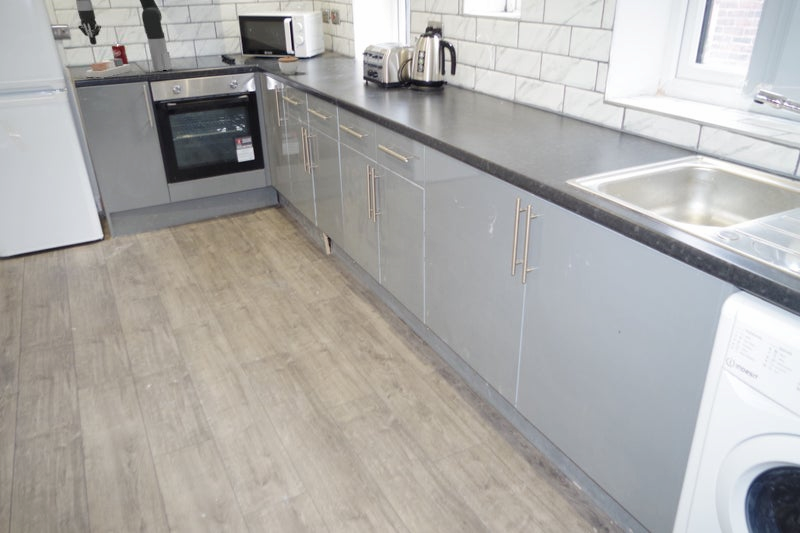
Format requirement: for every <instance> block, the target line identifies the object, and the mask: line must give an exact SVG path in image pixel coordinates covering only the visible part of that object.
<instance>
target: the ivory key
mask: <svg viewBox="0 0 800 533" xmlns="http://www.w3.org/2000/svg"><path fill="white" fill-rule="evenodd" d="M101 62H102V63H106V67H107V69H111V68H115V64H114V61H109V59H108V60H103V61H101Z"/></svg>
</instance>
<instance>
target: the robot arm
mask: <svg viewBox="0 0 800 533" xmlns="http://www.w3.org/2000/svg"><path fill="white" fill-rule="evenodd" d="M139 2H140V5H141V7H142V12H141V19H142V24H143V28H144V32H145V35H146V38H147V43H148V44H147V45H148V47H149V53H150V58H151V63H152V67H153V69H152V70H153V71H154V70H155V71H154V72H164V71H163V70H167V71H171V70H173V66H172V61H171V56H170V52H169V51H168V47H167V43H166V38H165V36H166V35H165V32H164V31H163V27H162V23H161V21H162V13H161V11H160V8H159V7H158V5H157V3H156V1H155V0H139ZM75 3H76V9H77V11H78V12H77V13H78V17H79V19H80V25H78V26H77V27H78V29H79V31H81V33H83V34H84V36H85V37H88V38H89V43H90V44H91V45H94V46H95V45H97V38H96V37H97V36H99V34H100V32H101V28H102V26H101V25H98V24H97V21H96V15H95V11H94V6H93V3H92V0H75Z"/></svg>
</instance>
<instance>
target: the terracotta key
mask: <svg viewBox="0 0 800 533" xmlns="http://www.w3.org/2000/svg"><path fill="white" fill-rule="evenodd" d="M91 68H92V69H91V70H93V71H103V70H107V67H106V63H102V61H100V62H94V63H91Z"/></svg>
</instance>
